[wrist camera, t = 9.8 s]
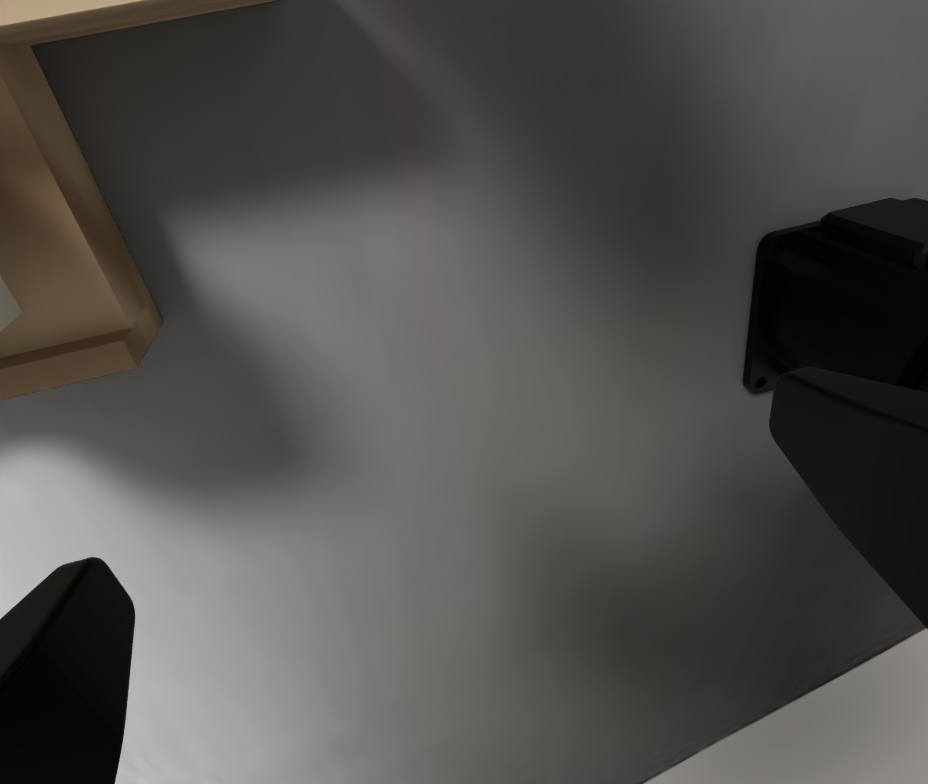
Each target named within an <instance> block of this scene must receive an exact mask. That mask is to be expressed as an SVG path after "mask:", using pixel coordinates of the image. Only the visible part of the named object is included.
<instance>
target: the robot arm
mask: <svg viewBox="0 0 928 784" xmlns="http://www.w3.org/2000/svg"><path fill="white" fill-rule="evenodd" d="M776 243H777V246H776V248H775V250H774V251H773V252H771V250H772V247H773V246H774V245H775V244H776ZM758 379H759V380H758ZM757 380H758V381H757ZM756 381H757V382H756ZM743 385H744V386H745V387H746V388H747V389H748V390H750V391H751V392H753V393H762V392H765V391H769V390H773V389H774V392H773V399H772V406H771V413H770V420H769V426H770V432H771V435H772V437H773V439H774V441H775V442H776V444H777V445H778V446H779V448H780V449H781V450H782V452H783V453H784V455H785V456H786V457H787V459H788V460H789V461H790V463H791V464H792V466H793V467H794V468H795V470H796V471H797V473H798V474H799V475H800V477H801V478H802V479H803V481H804V482H805V484H806V485H807V486H808V488H809V489H810V491H811V492H812V493H813V495H814V496H815V497H816V499H817V500H818V502H819V503H820V504H821V506H822V507H823V508H824V510H825V511H826V513H827V514H828V515H829V517H830V518H831V519H832V520H833V522H834V523H835V524H836V526H837V527H838V528H839V529H840V531H841V532H842V533H843V534H844V535H845V536H846V538H847V539H848V540H849V541H850V542H851V544H852V545H853V546H854V547H855V548H856V549H857V550H858V551H859V553H860V554H861V555H862V556H863V557H864V558H865V559H866V560H867V562H868V563H869V564H870V565H871V566H872V567H873V568H874V569H875V571H876V572H877V573H878V574H879V575H880V576H881V577H882V578H883V580H884V581H885V582H886V583H887V584H888V585H889V586H890V587H891V589H892V590H893V591H894V592H895V593H896V594H897V595H898V596H899V598H900V599H901V600H902V601H903V602H904V603H905V604H906V605H907V607H908V608H909V609H910V610H911V611H912V612H913V613H914V614H915V616H916V617H917V618H918V619H919V620H920V621H921V622H922V623H923V625H924V626H925V627H926V628H927V629H928V201H926V200H922V199H918V198H912V199H908V200H903V201H901V200H897V199H893V198H888V199H884V200H880V201H875V202H871V203H867V204H863V205H859V206H854V207H850V208H846V209H842V210H838V211H834V212H830V213H828V214H827V215H825V216H824V217H822V218H821V220H820V221H816V222H812V223H808V224H804V225H799V226H795V227H791V228H787V229H783V230H779V231H775V232H771V233H769V234H767V235H766V236H765V237H763V238H762V240H761V241H760V243H759V246H758V249H757V258H756V267H755V276H754V286H753V295H752V304H751V313H750V322H749V331H748V340H747V350H746V359H745V368H744V377H743ZM134 625H135V609H134V605H133V602H132V600H131V598H130V596H129V595H128V593H127V592H126V591H125V589H124V588H123V586H122V585H121V584H120V582H119V581H118V579H117V578H116V577H115V575H114V574H113V572H112V571H111V570H110V568H109V567H108V565H107V564H106V563H105V562H104V561H103V560H101V559H100V558H96V557H90V558H86V559H83V560H79V561H75V562H71V563H68V564H65V565H62V566H60V567H58V568H57V569H56V570H54V571H53V572H52V573H51V574H50V575H49V576H48V577H47V578H46V579H44V580H43V581H42V582H41V583H40V584H39V585H38V586H37V587H36V588H34V589H33V590H32V591H31V592H30V593H29V594H28V595H27V596H26V597H24V598H23V599H22V600H21V601H20V602H19V603H18V604H17V605H16V606H14V607H13V608H12V609H11V610H10V611H9V612H8V613H7V614H6V615H4V616H3V617H2V618H1V619H0V784H115V779H116V774H117V769H118V765H119V759H120V754H121V748H122V743H123V736H124V728H125V720H126V710H127V700H128V689H129V678H130V668H131V657H132V647H133V636H134Z"/></svg>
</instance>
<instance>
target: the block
mask: <svg viewBox="0 0 928 784" xmlns="http://www.w3.org/2000/svg"><path fill="white" fill-rule="evenodd" d="M22 312H23V311H22V310H21V308H20V307H19V305H18V303H17V302H16V300H15V298H14V297H13V295H12V294H11V292H10V290H9V289H8V287H7V286H6V284H5V282H4V281H3V279H2V277H1V276H0V332H1V331H2V330H3V329H4V328H5V327H6V326H7V325H9V324H10V323H11V322H12V321H13V320H14V319H15V318H17V317H18V316H19V315H20V314H21V313H22Z"/></svg>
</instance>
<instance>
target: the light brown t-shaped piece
mask: <svg viewBox="0 0 928 784" xmlns="http://www.w3.org/2000/svg"><path fill="white" fill-rule="evenodd" d="M272 1H277V0H0V276H1V277H2V279H3V281H4V282H5V284H6V286H7V287H8V289H9V290H10V292H11V294H12V295H13V297H14V298H15V300H16V302H17V303H18V305H19V307H20V308H21V310H22V311H23V312H22V313H21V314H20V315H19V316H18V317H17V318H15V319H14V320H13V321H12V322H11V323H10V324H9V325H7V326H6V327H5V328H4V329H3V330H2V331H1V332H0V400H4V399H8V398H12V397H16V396H21V395H25V394H29V393H33V392H37V391H42V390H46V389H50V388H54V387H58V386H63V385H67V384H71V383H75V382H80V381H84V380H88V379H92V378H96V377H101V376H105V375H109V374H113V373H117V372H122V371H126V370H130V369H134V368H137V367H138V366H139V364H140V362H141V360H142V359H143V357H144V355H145V353H146V352H147V350H148V348H149V347H150V345H151V343H152V341H153V340H154V338H155V336H156V334H157V333H158V331H159V329H160V327H161V326H162V324H163V321H162V319H161V316H160V314H159V312H158V310H157V308H156V306H155V304H154V302H153V300H152V298H151V296H150V294H149V292H148V289H147V287H146V285H145V283H144V281H143V279H142V277H141V275H140V273H139V271H138V269H137V267H136V265H135V262H134V260H133V258H132V256H131V254H130V252H129V250H128V248H127V246H126V244H125V242H124V240H123V238H122V235H121V233H120V231H119V229H118V227H117V225H116V223H115V221H114V219H113V217H112V215H111V213H110V211H109V208H108V206H107V204H106V202H105V200H104V198H103V196H102V194H101V192H100V190H99V188H98V186H97V184H96V181H95V179H94V177H93V175H92V173H91V171H90V169H89V167H88V165H87V163H86V161H85V159H84V157H83V154H82V152H81V150H80V148H79V146H78V144H77V142H76V140H75V138H74V136H73V134H72V132H71V130H70V127H69V125H68V123H67V121H66V119H65V117H64V115H63V113H62V111H61V109H60V107H59V105H58V103H57V100H56V98H55V96H54V94H53V92H52V90H51V88H50V86H49V84H48V82H47V80H46V78H45V76H44V73H43V71H42V69H41V67H40V65H39V63H38V61H37V59H36V57H35V55H34V53H33V51H32V49H31V47H30V45H36V44H41V43H47V42H52V41H58V40H63V39H69V38H74V37H80V36H85V35H90V34H96V33H101V32H107V31H112V30H118V29H123V28H129V27H134V26H140V25H145V24H151V23H156V22H162V21H167V20H173V19H178V18H184V17H189V16H195V15H200V14H206V13H211V12H217V11H222V10H228V9H233V8H239V7H244V6H250V5H255V4H261V3H266V2H272Z"/></svg>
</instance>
